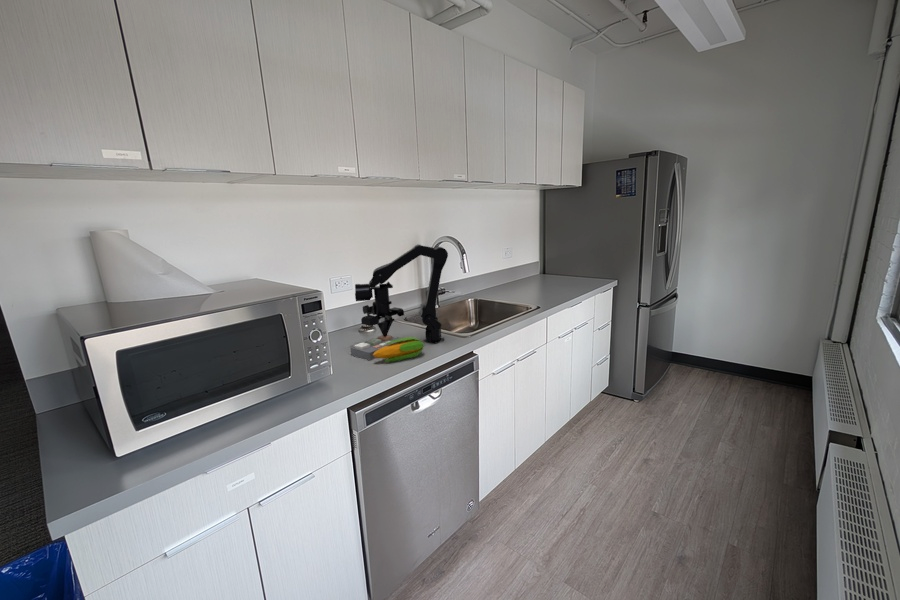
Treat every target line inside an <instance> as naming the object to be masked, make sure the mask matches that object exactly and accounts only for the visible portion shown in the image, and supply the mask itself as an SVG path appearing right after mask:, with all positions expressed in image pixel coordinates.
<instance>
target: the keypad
mask: <svg viewBox="0 0 900 600" xmlns="http://www.w3.org/2000/svg"><path fill="white" fill-rule="evenodd" d="M375 338H376V339H378V337H375ZM398 339H400V338H399V337H394V336H392V339H389V340H386V341H382V340H381V341H382V342H381V343H379V344H376V345H370V347H368V348H365V349H363V350H360V349H356V348H355V347H354V346H351V347H350V348H349V349H350V355H351V356H353V357H357V358H360V359H363V360H368V361H372V360H375V359H376V358H375V357H374V356H373V354H374V353H375V351H377V350H379V349H380V348H382V347H385V346H388V345H390V344H393V343H397V342H393V343H389V344H388V342H391V341H393V340H398ZM398 342H401V341H398ZM364 343H366V341H365V342H364Z"/></svg>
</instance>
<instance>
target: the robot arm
mask: <svg viewBox="0 0 900 600" xmlns="http://www.w3.org/2000/svg"><path fill="white" fill-rule="evenodd" d="M419 256H423V257H427V258H431V259H430V261H431V271H430V277H429V283H428V288H427V293H426V298H425V299H426V300H425V302H424V304H420V309H419V312H418V314H419V317H420V319H421V321H422V323H423V324H424V325H425V326H426V327H425V332H424V333H425V338H424V339H423V340H422V342H425V343H430V344H437V343H440V342H442V341H444V340H445V337H442V322H441V321H440V319H439V318H438V317H437V307H436V304H437V303H436V302H437V297H438V292H439V286H440V282H441V281H440V280H441V276H442V271H443V268H444V267H445V265H446V262H447V261H448V257H449V253H448V251H447V249H445V248H444V247H443V246H442V247H441V246H435V247H433V246H428V245H427V246H426V245H422V244H416V245H414V246H413V247H412V248H411V249H409V250H408V251H406V252H404V253H403V254H401V255H400V256H398V257H397V258H395V259H394V260H392V261H391V262H389V263H386V264H383V265H381V266H379V267H378V266H377V268H376V267H375V269H374V270H373V272H372V277H371V279H370V280H369V282H368V283H355V285H354V288H355V289H354V290H355V291H354V297H355V302H364V301H365V302H366V301H371V299H372V298H374V301H373V302H372V305H371V306H369V305H368V304H367V305H363V306H362V312H363V314H364V315H365V316H362V317H361V325H366V326H375V325H377V326H378V328H379V329H380V332H381V335H383V336H384V337H386V336H387V335H389V331H390V328H391V326H392V324H393V322H394V321H395V318H393V316H395V315H396V316H398V317H403V316H405V311H404V309H403V308H401V307H392V308H391V305H392V304H393V303H392V301H391V300H390V293H389V289H393V288H394V285H393V284H392V283H390V282H389V281H388V280H389V279H390V278H391V277H392V276H393V275H394V274H395V273H396V272H397V271H399V270H400V269H401V268H403V267H405V266H406V265H407V264H409V263H410V262H412V261H413V260H416V258H418V257H419ZM373 294H374V295H373ZM373 296H374V297H373Z"/></svg>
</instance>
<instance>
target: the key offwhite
mask: <svg viewBox="0 0 900 600" xmlns="http://www.w3.org/2000/svg"><path fill="white" fill-rule="evenodd" d="M353 347H355V348H356V349H360V350H363V349H365V348H368V347H370V344H368V343H364V342H360V343H356V344H355V345H354V346H353Z"/></svg>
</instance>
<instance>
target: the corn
mask: <svg viewBox="0 0 900 600" xmlns="http://www.w3.org/2000/svg"><path fill="white" fill-rule="evenodd" d="M398 341H401V342H398ZM393 342H397V343H393ZM389 343H393V344H390V345H388V346H385V347H382V348H380V349H379V350H377V351H375V353H374V354H373V356H374V357H375V359H384V361H383V362H384V363H392V362H393V363H394V362H399V360H400V361H403V360H409V359H412V357H413V358H416V357H417V356H418V355H420V354H421V353H422V351H423V350H424V347H425V345H424V341H423V340H420V339H419V338H417V337H415V336H414V337H413V336H411V337H409V336H408V337H404V338H399V339H398V340H393V341H391V342H388V344H389ZM408 358H409V359H408Z"/></svg>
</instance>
